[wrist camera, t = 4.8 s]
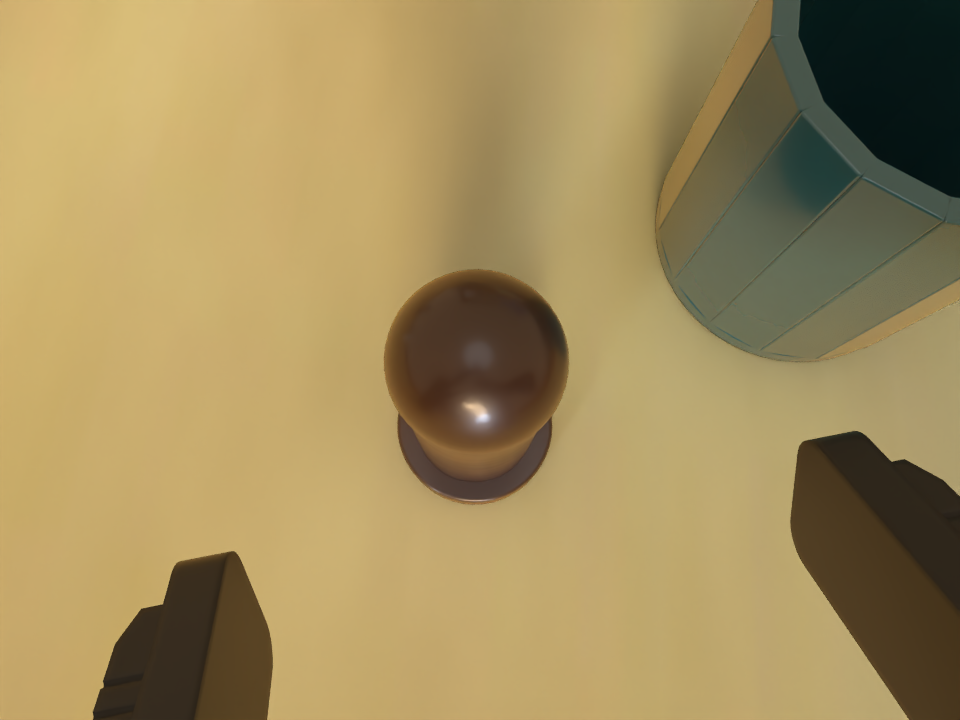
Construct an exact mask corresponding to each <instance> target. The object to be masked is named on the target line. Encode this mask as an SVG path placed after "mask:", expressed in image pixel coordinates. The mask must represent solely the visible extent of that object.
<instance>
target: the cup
mask: <svg viewBox="0 0 960 720" xmlns="http://www.w3.org/2000/svg"><path fill="white" fill-rule="evenodd" d="M655 231H656V241H657V248H658V252H659V256H660V260H661V264H662V266H663V269H664V271H665V274H666V277H667V279H668V281H669V283H670V284H671V286H672V288H673V290H674V292H675V293H676V295H677V296H678V298H679V299H680V300H681V302H682V303H683V304H684V306H685V307H686V308H687V310H688V311H689V312H690V313H691V314H692V315H693V316H694V317H695V318H696V319H697V320H698V321H699V322H700V323H701V324H702V325H704V326H705V327H706V328H707V329H708V330H710V331H711V332H712V333H714V334H715V335H717V336H718V337H720V338H721V339H723V340H724V341H726V342H728V343H730V344H732V345H734V346H736V347H738V348H740V349H742V350H744V351H747V352H750V353H752V354H755V355H758V356H761V357H765V358H770V359H775V360H779V361H791V362H813V361H820V360H826V359H832V358H835V357H839V356H842V355H845V354H848V353H851V352H853V351H855V350H858V349H862V348H866V347H868V346H870V345H872V344H874V343H876V342H878V341H880V340H882V339H884V338H886V337H888V336H890V335H892V334H894V333H896V332H897V331H899V330H901V329H903V328H905V327H907V326H909V325H911V324H913V323H915V322H917V321H919V320H921V319H923V318H925V317H926V316H928V315H930V314H932V313H934V312H936V311H938V310H940V309H942V308H944V307H946V306H948V305H950V304H952V303H954V302H956V301H957V300H959V299H960V0H758V1H757V2H756V4H755V6H754V8H753V10H752V12H751V14H750V16H749V18H748V20H747V22H746V24H745V26H744V28H743V29H742V31H741V33H740V35H739V37H738V39H737V41H736V43H735V45H734V47H733V49H732V51H731V53H730V55H729V56H728V58H727V60H726V62H725V64H724V66H723V68H722V70H721V72H720V74H719V76H718V78H717V80H716V82H715V83H714V85H713V87H712V89H711V91H710V93H709V95H708V97H707V99H706V101H705V103H704V105H703V107H702V109H701V110H700V112H699V114H698V116H697V118H696V120H695V122H694V124H693V126H692V128H691V130H690V132H689V134H688V135H687V137H686V139H685V141H684V143H683V145H682V147H681V149H680V151H679V153H678V155H677V157H676V159H675V161H674V162H673V164H672V166H671V168H670V170H669V172H668V174H667V176H666V178H665V180H664V183H663V188H662V191H661V194H660V197H659V201H658V207H657V212H656V229H655Z"/></svg>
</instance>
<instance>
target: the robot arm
mask: <svg viewBox="0 0 960 720" xmlns="http://www.w3.org/2000/svg"><path fill="white" fill-rule="evenodd" d="M790 523H791V533H792V537H793V541H794V545H795V548H796V550H797V553H798V555H799V557H800V559H801V561H802V563H803V564H804V566H805V567H806V569H807V570H808V572H809V573H810V575H811V576H812V578H813V579H814V580H815V582H816V583H817V585H818V586H819V588H820V589H821V591H822V592H823V594H824V595H825V597H826V598H827V600H828V601H829V602H830V604H831V605H832V607H833V608H834V610H835V611H836V613H837V614H838V616H839V617H840V619H841V620H842V622H843V623H844V624H845V626H846V627H847V629H848V630H849V632H850V633H851V635H852V636H853V638H854V639H855V641H856V642H857V644H858V645H859V646H860V648H861V649H862V651H863V652H864V654H865V655H866V657H867V658H868V660H869V661H870V663H871V664H872V666H873V667H874V669H875V670H876V671H877V673H878V674H879V676H880V677H881V679H882V680H883V682H884V683H885V685H886V686H887V688H888V689H889V691H890V692H891V693H892V695H893V696H894V698H895V699H896V701H897V702H898V704H899V705H900V707H901V708H902V710H903V711H904V713H905V714H906V715H907V717H908V718H909V720H960V496H959V495H958V494H957V493H956V492H955V491H954V490H953V489H952V488H951V487H949V486H948V485H947V484H946V483H945V482H944V481H943V480H942V479H940V478H938V477H936V476H934V475H933V474H931V473H929V472H927V471H925V470H923V469H922V468H920V467H918V466H916V465H914V464H912V463H910V462H909V461H907V460H905V459H903V460H898V461H893V462H891V461H890V460H889V459H888V458H887V457H886V456H885V455H884V454H883V453H882V452H881V451H880V450H879V449H878V448H877V446H876V445H875V444H874V443H873V442H872V441H871V440H870V439H869V438H868V437H867V436H865V435H864V434H863V433H861V432H858V431H852V432H847V433H842V434H837V435H832V436H827V437H822V438H817V439H812V440H807V441H804V442H802V443H801V445H800V446H799V449H798V454H797V464H796V473H795V482H794V491H793V501H792V510H791V521H790ZM272 668H273V655H272V644H271V638H270V633H269V629H268V625H267V623H266V620H265V618H264V615H263V613H262V610H261V608H260V605H259V603H258V601H257V598H256V596H255V593H254V591H253V588H252V586H251V584H250V581H249V579H248V576H247V574H246V571H245V569H244V566H243V564H242V562H241V560H240V558H239V556H238V555H237V553H236V552H234V551H231V552H226V553H221V554H215V555H210V556H205V557H200V558H195V559H190V560H185V561H180V562H178V563H177V564H176V565H175V566H174V568H173V571H172V574H171V577H170V581H169V585H168V588H167V592H166V595H165V599H164V603H163V605H158V606H153V607H148V608H143V609H141V610H140V611H139V613H138V614H137V615H136V617H135V618H134V619H133V621H132V622H131V623H130V625H129V626H128V627H127V629H126V630H125V632H124V633H123V634H122V636H121V637H120V638H119V640H118V641H117V642H116V644H115V646H114V649H113V652H112V655H111V658H110V661H109V665H108V668H107V671H106V674H105V677H104V680H103V683H104V688H103V689H100V692H99V695H98V698H97V701H96V704H95V707H94V710H93V715H94V718H93V720H267V715H268V706H269V697H270V688H271V678H272Z"/></svg>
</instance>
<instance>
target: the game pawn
mask: <svg viewBox="0 0 960 720" xmlns="http://www.w3.org/2000/svg"><path fill="white" fill-rule="evenodd" d="M384 371H385V378H386V383H387V387H388V390H389V394H390V396H391V398H392V401H393V403H394V405H395V407H396V408H397V410H398V412H399V413H398V438H399V443H400V447H401V450H402V453H403V455H404V458H405V460H406V462H407V463H408V465H409V467H410V468H411V470H412V471H413V473H414V474H415V475H416V476H417V478H418V479H419V480H420V481H421V482H422V483H423V484H424V485H425V486H426V487H427V488H429V489H430V490H431V491H433V492H434V493H436V494H438V495H439V496H441V497H443V498H446V499H448V500H451V501H454V502H458V503H463V504H486V503H492V502H495V501H498V500H501V499H504V498H506V497H508V496H510V495H512V494H513V493H515V492H517V491H518V490H520V489H521V488H522V487H523V486H524V485H525V484H527V483H528V481H529V480H530V479H531V478H532V477H533V476H534V475H535V473H536V472H537V471H538V469H539V468H540V466H541V465H542V463H543V461H544V459H545V457H546V455H547V452H548V449H549V446H550V441H551V436H552V415H553V413H554V412H555V410H556V409H557V407H558V405H559V403H560V401H561V399H562V396H563V393H564V390H565V387H566V383H567V378H568V371H569V352H568V346H567V341H566V337H565V334H564V331H563V328H562V325H561V323H560V321H559V319H558V317H557V315H556V314H555V312H554V311H553V309H552V308H551V306H550V305H549V304H548V303H547V302H546V300H545V299H544V298H543V297H542V296H541V295H540V294H539V293H537V292H536V291H535V290H534V289H533V288H531V287H530V286H528V285H527V284H525V283H524V282H522V281H520V280H518V279H516V278H514V277H512V276H509V275H506V274H504V273H500V272H496V271H491V270H481V269H474V270H463V271H457V272H453V273H450V274H446V275H444V276H441V277H439V278H437V279H435V280H433V281H431V282H429V283H428V284H426V285H424V286H423V287H422V288H420V289H419V290H418V291H416V292H415V293H414V294H413V295H412V296H411V297H410V298H409V299H408V300H407V301H406V302H405V304H404V305H403V306H402V308H401V309H400V310H399V312H398V314H397V316H396V317H395V319H394V321H393V323H392V326H391V328H390V331H389V333H388V337H387V341H386V344H385V352H384Z"/></svg>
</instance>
